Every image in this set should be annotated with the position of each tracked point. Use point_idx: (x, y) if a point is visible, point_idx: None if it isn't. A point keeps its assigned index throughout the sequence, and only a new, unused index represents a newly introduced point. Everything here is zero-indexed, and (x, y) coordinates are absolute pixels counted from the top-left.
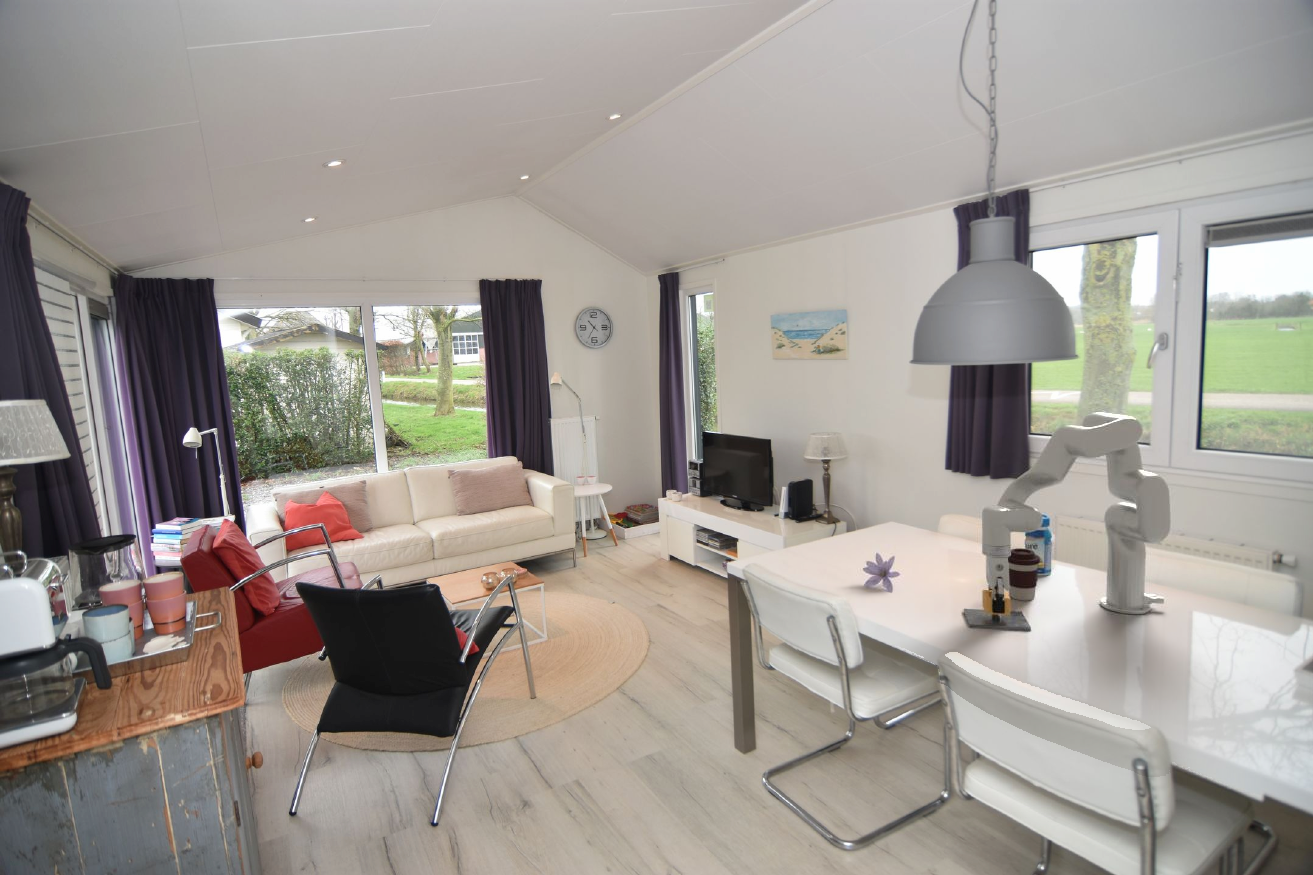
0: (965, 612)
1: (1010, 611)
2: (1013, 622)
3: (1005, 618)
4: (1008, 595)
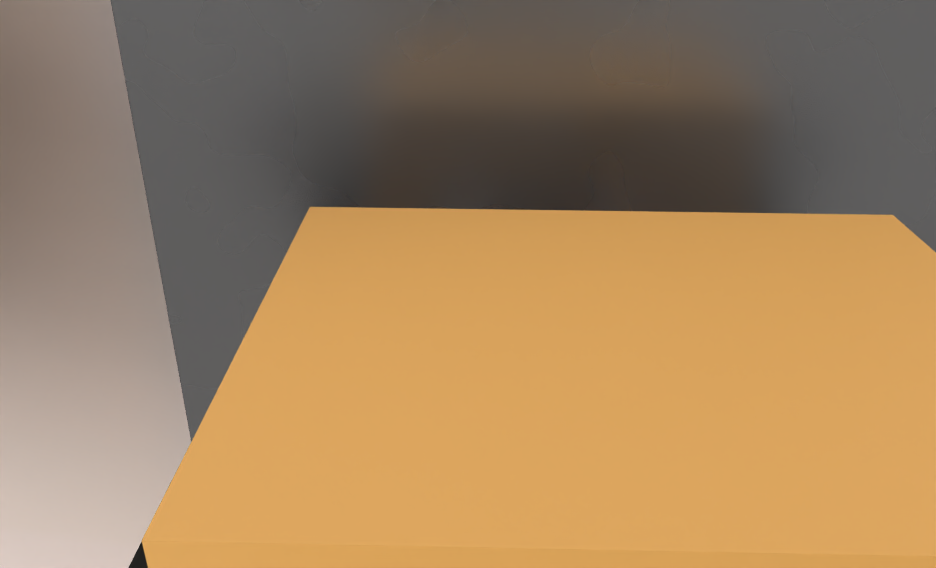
0: None
1: (157, 17)
2: (815, 86)
3: (598, 200)
4: (849, 559)
